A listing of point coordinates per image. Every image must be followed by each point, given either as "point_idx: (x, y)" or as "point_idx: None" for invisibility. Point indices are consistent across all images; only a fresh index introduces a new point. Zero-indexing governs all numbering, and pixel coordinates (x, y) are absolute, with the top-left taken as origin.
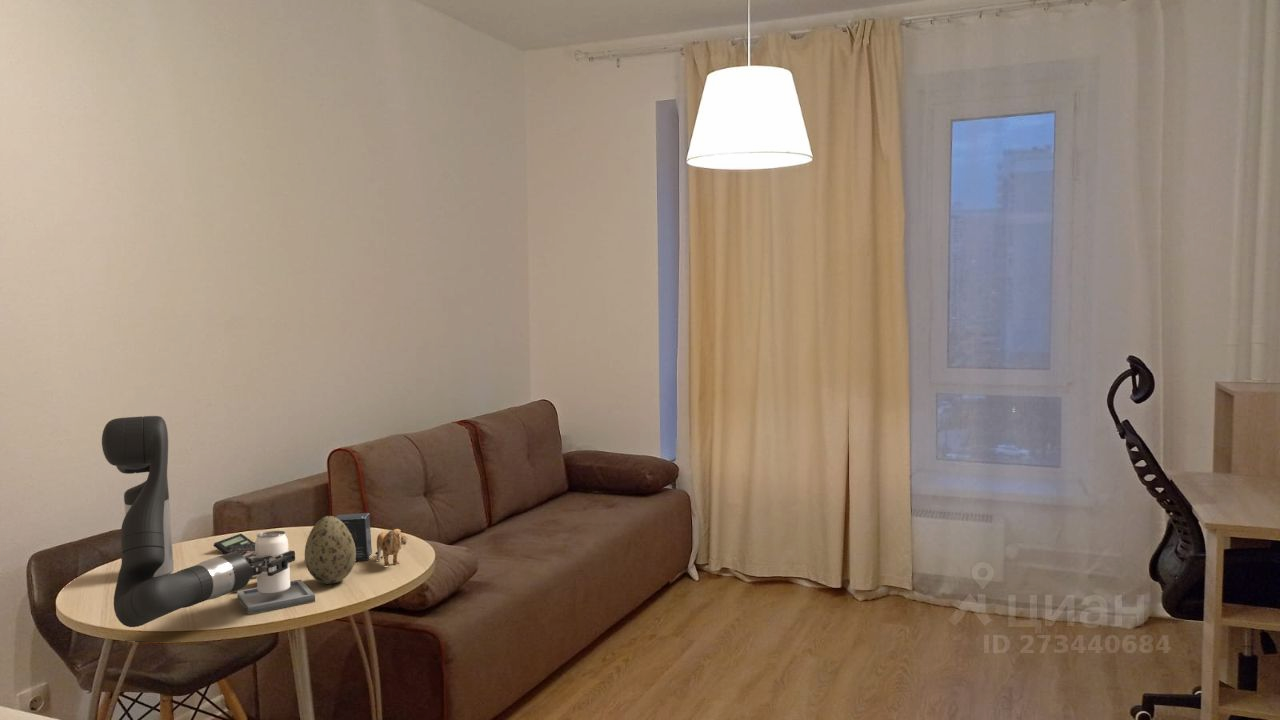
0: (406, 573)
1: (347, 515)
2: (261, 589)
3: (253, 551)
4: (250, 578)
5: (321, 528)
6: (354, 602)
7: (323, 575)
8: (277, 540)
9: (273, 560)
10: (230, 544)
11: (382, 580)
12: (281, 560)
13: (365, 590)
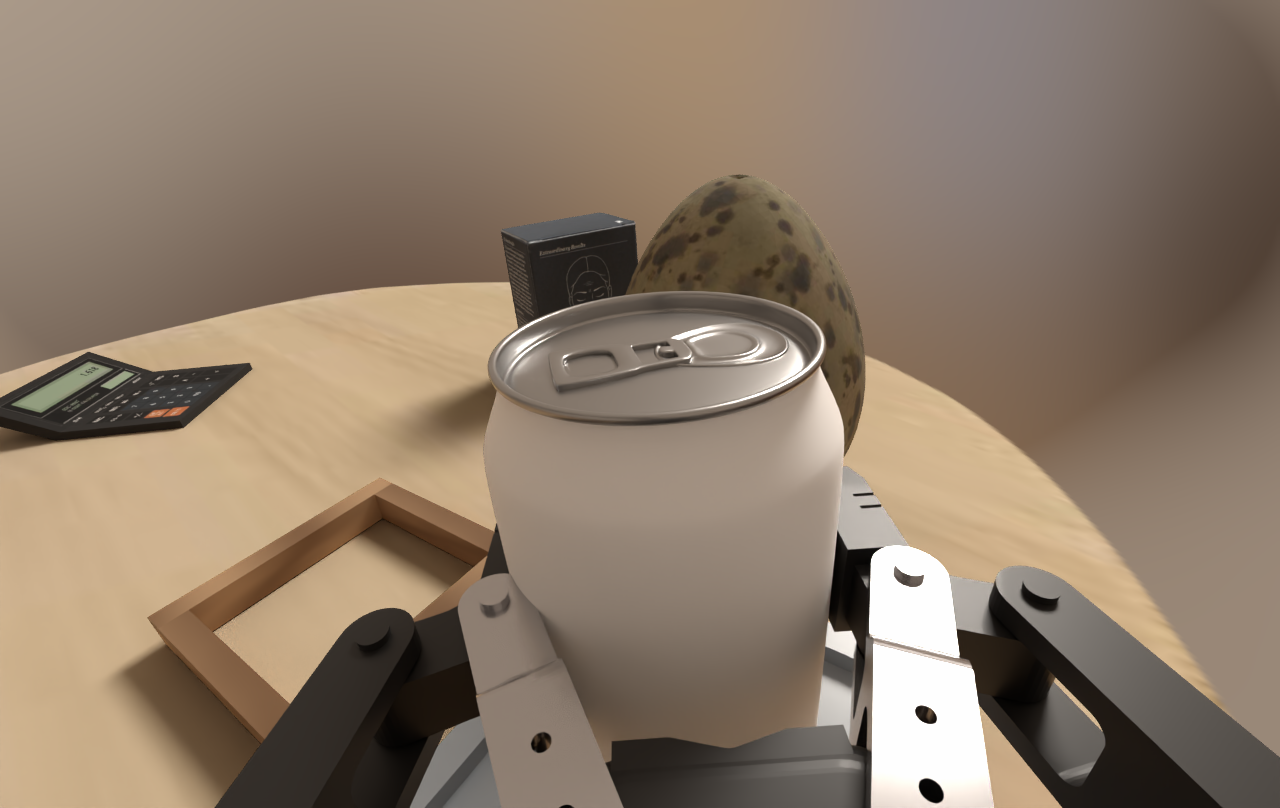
0: (877, 385)
1: (547, 225)
2: None
3: (179, 407)
4: (285, 578)
5: (769, 247)
6: (1165, 637)
7: None
8: (832, 407)
9: (1205, 786)
10: (61, 398)
11: (886, 434)
12: (1189, 698)
13: (969, 511)
